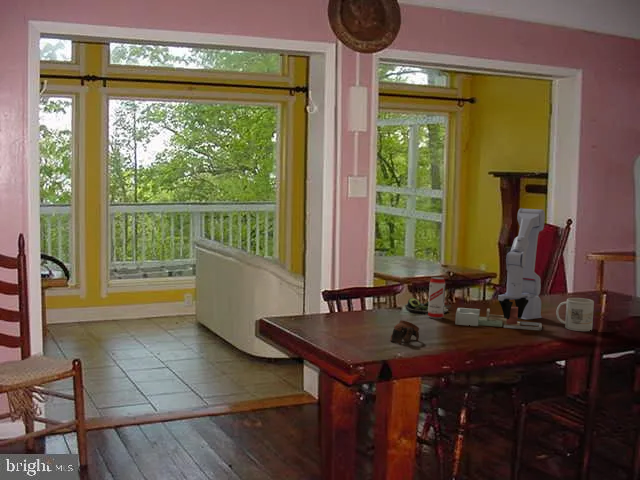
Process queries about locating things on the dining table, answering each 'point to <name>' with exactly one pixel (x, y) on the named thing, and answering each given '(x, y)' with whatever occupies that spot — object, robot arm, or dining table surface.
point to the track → (499, 324)
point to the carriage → (510, 321)
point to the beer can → (436, 298)
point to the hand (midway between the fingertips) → (512, 318)
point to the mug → (578, 314)
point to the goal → (467, 316)
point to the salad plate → (419, 306)
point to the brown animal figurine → (404, 332)
